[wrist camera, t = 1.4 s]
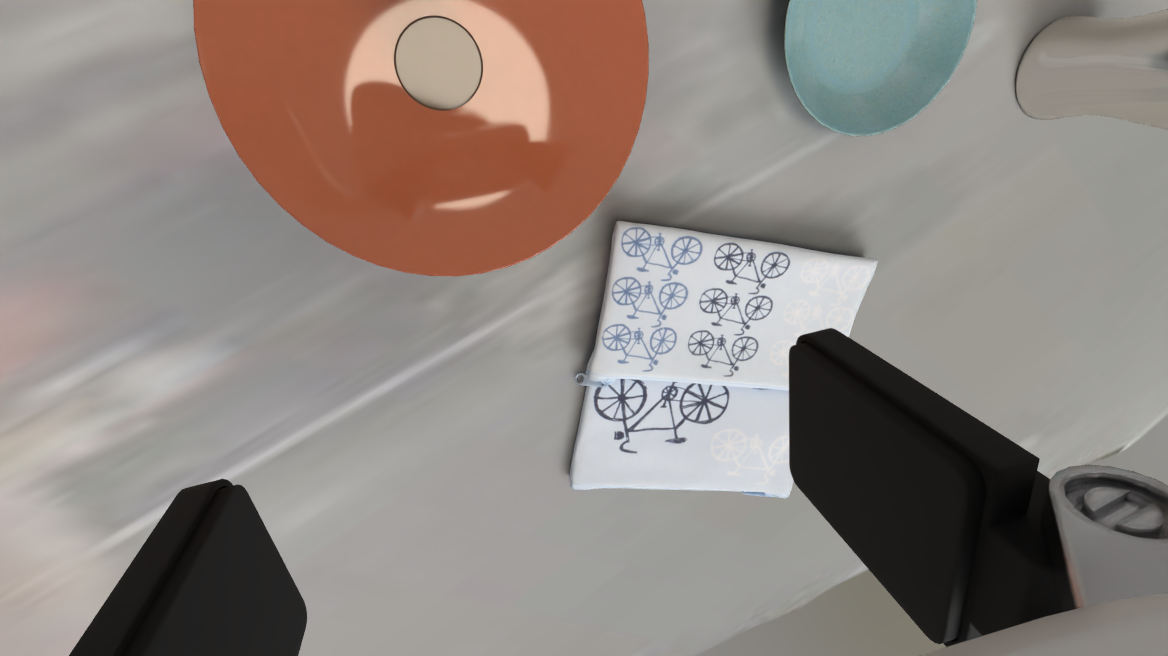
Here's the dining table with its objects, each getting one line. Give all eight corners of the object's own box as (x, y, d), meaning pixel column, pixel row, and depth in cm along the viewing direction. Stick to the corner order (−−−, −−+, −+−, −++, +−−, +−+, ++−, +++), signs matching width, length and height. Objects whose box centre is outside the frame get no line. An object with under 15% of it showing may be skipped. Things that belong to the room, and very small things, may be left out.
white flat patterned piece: (871, 254, 39) (893, 263, 37) (778, 493, 46) (793, 511, 44) (611, 209, 34) (620, 217, 32) (550, 486, 41) (555, 506, 39)
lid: (195, 222, 22) (118, 263, 17) (220, -296, 17) (120, -463, 12) (581, 299, 27) (612, 350, 22) (693, -87, 22) (769, -141, 17)
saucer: (972, -89, 32) (1008, -100, 30) (919, 134, 36) (947, 137, 34) (781, -108, 29) (806, -123, 27) (750, 132, 34) (769, 135, 32)
